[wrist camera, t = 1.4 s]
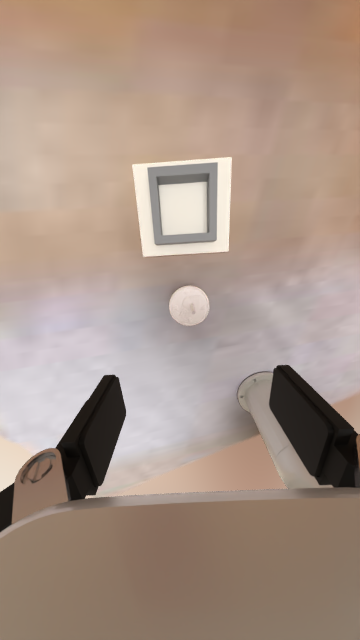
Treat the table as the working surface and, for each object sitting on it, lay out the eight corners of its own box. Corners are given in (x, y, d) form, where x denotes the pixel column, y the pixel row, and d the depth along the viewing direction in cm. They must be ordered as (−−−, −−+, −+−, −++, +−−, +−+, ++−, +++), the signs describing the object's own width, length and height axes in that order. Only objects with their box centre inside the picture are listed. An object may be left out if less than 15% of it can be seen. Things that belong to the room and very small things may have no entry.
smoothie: (209, 293, 35) (225, 313, 22) (188, 315, 37) (192, 346, 24) (185, 272, 34) (189, 280, 21) (165, 296, 36) (156, 317, 22)
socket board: (229, 160, 28) (237, 145, 24) (227, 251, 33) (233, 250, 29) (133, 167, 28) (126, 153, 25) (144, 256, 33) (139, 256, 29)
